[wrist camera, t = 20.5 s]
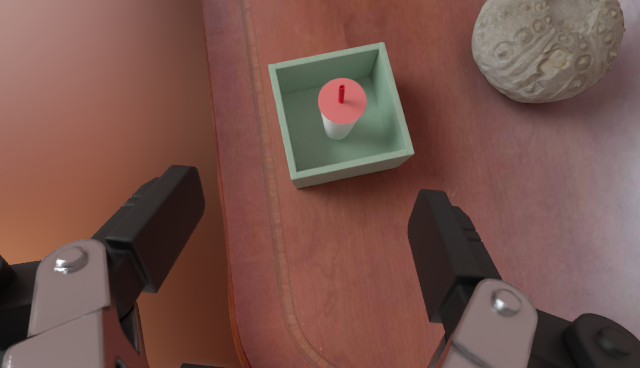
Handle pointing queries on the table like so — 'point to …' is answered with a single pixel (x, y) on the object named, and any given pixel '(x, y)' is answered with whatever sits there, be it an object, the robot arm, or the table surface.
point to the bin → (367, 133)
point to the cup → (341, 106)
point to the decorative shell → (546, 46)
